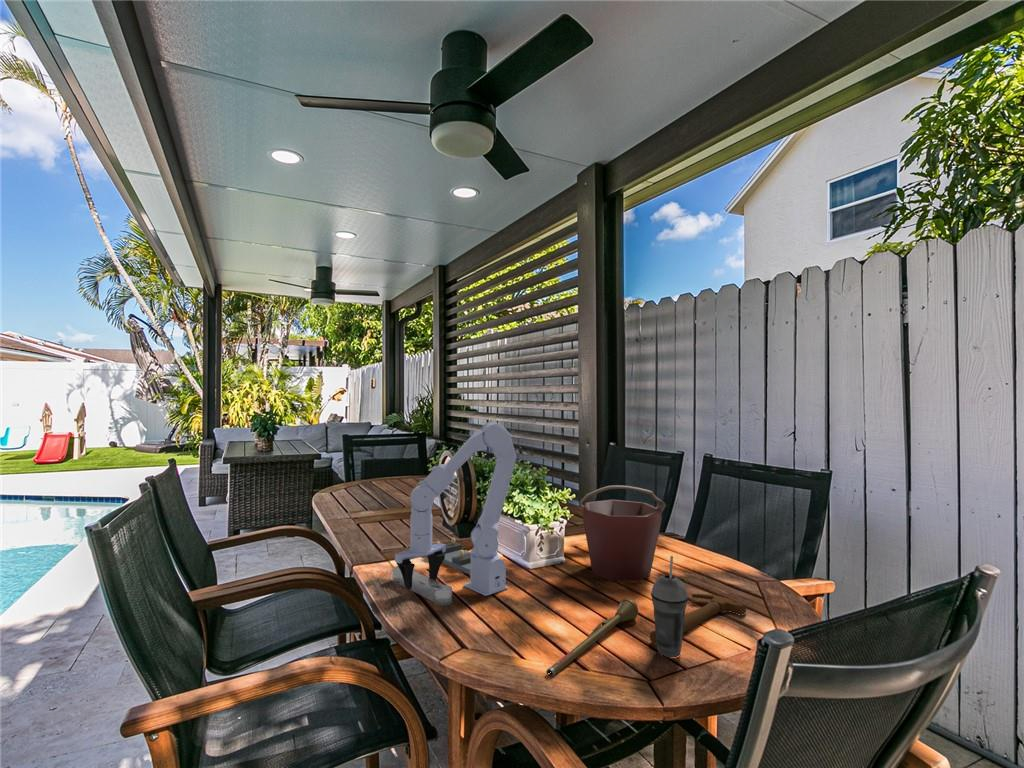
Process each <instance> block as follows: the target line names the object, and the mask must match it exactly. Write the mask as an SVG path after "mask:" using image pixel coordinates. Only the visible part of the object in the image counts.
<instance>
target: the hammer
mask: <svg viewBox="0 0 1024 768" xmlns="http://www.w3.org/2000/svg"><path fill="white" fill-rule="evenodd" d="M691 597H692V598H696V599H704V601H701V600H699V601H698V600H696V601H695V600H692V601H691V603H692V604H695V603H698V604H699V605H703V606H701V607H700V608H698V609H695V610H693V611H690V612H688V613H685V617H684V627H683V634H684V632H685V633H686V632H688V631H691V630H692V629H693V628H695V627H696V626H698V625H699V624H701V623H702V622H703V621H705V620H707V619H708V618H710V617H712V615H713V616H715V615H718V614H719V613H720V612H723V613H725V612H724V611H731V612H734V613H733V614H735V613H737V614H740V615H742V614H744V613H745V612H746V613H747V606H746V605H745V604H744V603H742V602H735V601H733V600H732V599H730V598H727V597H723V596H719V595H716V594H706V593H705V594H704V593H692V594H691ZM705 599H706V600H708V601H706V600H705ZM709 600H710V601H709ZM698 604H697V605H698ZM706 604H707V605H706ZM731 612H730V613H731ZM746 613H745V614H746ZM714 614H715V615H714ZM737 614H736V615H737ZM691 628H692V629H691ZM649 639H650V642H651V641H652V642H654V643H656V631H655V630H653V631H651V632H650V633H649ZM652 642H651V643H652Z"/></svg>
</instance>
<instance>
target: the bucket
mask: <svg viewBox="0 0 1024 768" xmlns="http://www.w3.org/2000/svg"><path fill="white" fill-rule="evenodd" d="M608 490H609V491H610V490H630V491H636V492H640V493H643V494H646V495H650V498H651V499H652V500H653V501H654V502H655V503H657V506H656V507H655V506H653V505H651V504H649V503H646V502H641V501H633V500H632V501H631V500H620V499H606V500H605V499H604V500H596V501H587V500H588V498H591V497H593V496H596V495H597V494H599V493H603V492H606V491H608ZM586 501H587V502H586ZM584 502H585V503H584ZM583 503H584V505H583ZM666 506H667V504H666V503H665V502H664V500H662V499H660V498H658V497H657V496H656V495H655V494H654V492H653V491H652V490H649V489H645V488H641V487H637V486H631V485H621V484H620V485H617V484H615V485H607V486H604V487H600V488H598V489H595V490H593V491H591V492H588V493H587V494H585V496H583V498H581V500H579V503H578V507H579V508H580V509H581V510H582V513H583V514H582V522H583V527H584V532H585V537H586V544H587V550H588V554H589V555H588V556H589V561H590V567H591V572H592V574H593V575H595V576H598V577H600V578H603V579H606V580H609V581H612V582H640V581H642V580H643V579H645V578H646V577H648V576H649V575H651V571H652V568H653V564H654V558H655V553H656V549H657V544H658V540H659V535H660V528H661V526H662V525H661V524H662V522H663V521H662V519H663V518H662V515H663V514H662V513H663V512H664V511H665V508H666Z"/></svg>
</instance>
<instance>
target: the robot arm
mask: <svg viewBox="0 0 1024 768" xmlns="http://www.w3.org/2000/svg"><path fill="white" fill-rule="evenodd" d="M488 447H489V448H490V449H491V451H492V452H493V454H494V456H495V457H496V463H495V466H494V470H493V474H492V477H491V481H490V484H489V488H488V491H487V495H486V498H485V501H484V506H483V509H482V513H481V515H480V517H479V518H478V520H477V524H476V526H475V527H473V529H472V531H471V533H470V541H471V542H472V544H473V547H472V549H471V550H470V552H471V574H469V575H470V578H469V579H470V581H469V582H466V583H464V584H463V587H465V588H467V589H469V590H471V591H474V592H476V593H478V594H479V595H483V596H485V597H486V596H490V595H493V594H495V593H499V592H502V591H505V590H507V589H508V588H509V587H508V585H506V583H507V582H506V581H507V579H506V578H507V577H506V576H507V567H506V566H507V565H506V563H505V561H504V560H503V559H502V558H501V557H500V556H499V554H498V548H499V541H498V536H499V531H500V530H499V529H500V527H499V526H500V524H499V523H500V520H501V519H500V518H501V514H502V512H503V507H504V504H505V501H506V497H507V494H508V489H509V486H510V483H511V480H512V476H513V473H514V469H515V465H516V461H517V454H516V450H515V447H514V444H513V440H512V434H511V433H509V431H508V430H507V429H506V427H505V426H503V425H502V424H501V423H497V422H494V421H488V422H486V423H484V424H482V426H481V428H479V429H478V430H476V431H475V432H474V433H473V434H472V435H471V436H470V437H469V438H468V439H467V440H466V441H465V442H464V443H463V444H462V446H461V447H460V448H459V449H458V450H457V451H456V452H455V453H454V455H453V456H452V457H451V458H450V459H449V460H448V461H447V462H446V463H443V464H442V463H441V464H440V463H439V464H438V465H437V466H435V465H434V466H433V467H431V472H430V473H429V474H427V476H426V477H425V478H424V480H420V481H418V486H417V485H416V487H414V488H413V490H412V491H411V493H410V496H409V498H410V503H411V508H410V513H411V514H410V515H409V516H410V517H409V518H410V519H409V521H410V523H409V526H410V533H409V534H410V536H409V542H410V543H409V545H410V546H409V548H408V549H406V550H403V551H401V552H398V553H395V554H394V562H395V563H396V565H397V566H398V567H399V569H400V571H401V573H402V576H403V580H404V584H405V587H404V588H406V589H407V590H410V589H412V575H413V571H415V567H416V566H415V563H413V562H412V561H411V560H415V559H418V558H422V557H426V556H428V557H427V560H428V561H427V563H428V578H430V579H432V580H434V581H437V579H438V574H439V571H440V568H441V566H442V562H443V560H444V559H445V554H443V553H442V552H446V545H445V544H446V543H445V544H444V543H441V542H440V544H436V543H434V544H433V513H432V507H433V506H434V502H435V498H438V497H439V496H440V495H441V494H442V493H443V492H444V491H445V490H446V489H447V488H448V486H450V485H451V484H452V483H453V482H454V480H455V477H456V476H455V473H456V471H458V470H459V469H460V468H461V467H462V466H463V465H464V464H465V463H466V462H467V461H468V460H469V459H470V458H471V457H472V456H473V455H474V454H475V453H476V452H477V453H478V452H481V451H486V450H487V449H488Z"/></svg>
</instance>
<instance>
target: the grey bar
mask: <svg viewBox="0 0 1024 768" xmlns="http://www.w3.org/2000/svg"><path fill="white" fill-rule="evenodd" d="M392 583H393V584H395V585H400V586H403V587H404V588H405V584H404V580H403V576H402V573H401V571H400V569H399V567H398V565H397V566H394V567H393V568H392ZM409 590H410V591H412V592H414V593H416V594H418V595H420V596H421V597H424V598H426V599H428V600H430V601H432V602H433V603H434V604H435V605H436V606H440V607H444V606H445V607H446V606H450V605H452V603H453V587H452V586H451V585H448V584H443V583H441V582H438V581H437V580H436V581H434V580H432V579H430V578H429V576H426V575H423V574H421V573H419V572H417V571H415V570H413V575H412V589H409Z"/></svg>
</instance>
